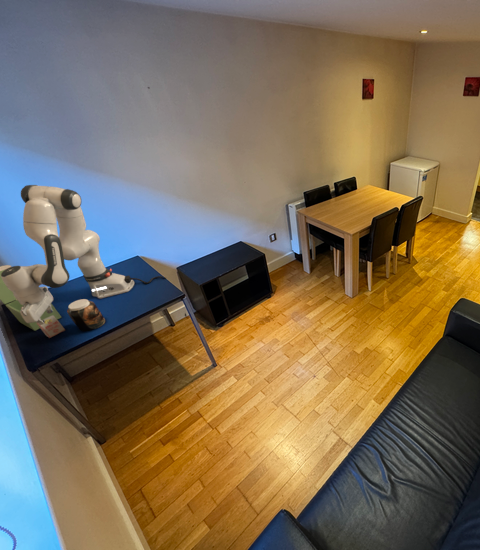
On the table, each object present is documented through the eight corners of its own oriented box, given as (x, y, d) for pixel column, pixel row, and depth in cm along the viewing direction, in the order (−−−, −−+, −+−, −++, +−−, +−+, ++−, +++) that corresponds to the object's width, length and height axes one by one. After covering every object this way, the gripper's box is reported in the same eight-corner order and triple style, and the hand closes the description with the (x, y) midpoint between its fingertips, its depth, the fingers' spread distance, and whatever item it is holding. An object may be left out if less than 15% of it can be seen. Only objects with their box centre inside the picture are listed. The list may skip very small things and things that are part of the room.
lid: (12, 266, 158) (9, 266, 160) (-19, 278, 149) (-23, 277, 151) (33, 292, 166) (30, 291, 168) (4, 304, 157) (1, 303, 159)
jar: (75, 334, 157) (59, 313, 149) (83, 320, 166) (68, 300, 158) (102, 328, 161) (88, 307, 153) (108, 315, 170) (95, 295, 162)
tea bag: (46, 335, 156) (34, 321, 150) (61, 327, 161) (51, 314, 155) (49, 338, 155) (38, 324, 149) (65, 330, 160) (54, 316, 154)
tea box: (61, 317, 168) (48, 299, 161) (34, 330, 159) (19, 312, 152) (47, 309, 173) (33, 292, 166) (20, 322, 164) (5, 304, 157)
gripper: (28, 308, 138) (45, 329, 145) (48, 284, 153) (62, 305, 161) (10, 311, 135) (28, 332, 143) (32, 287, 151) (47, 307, 159)
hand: (46, 318), depth 152 cm, fingers open, 8 cm apart
